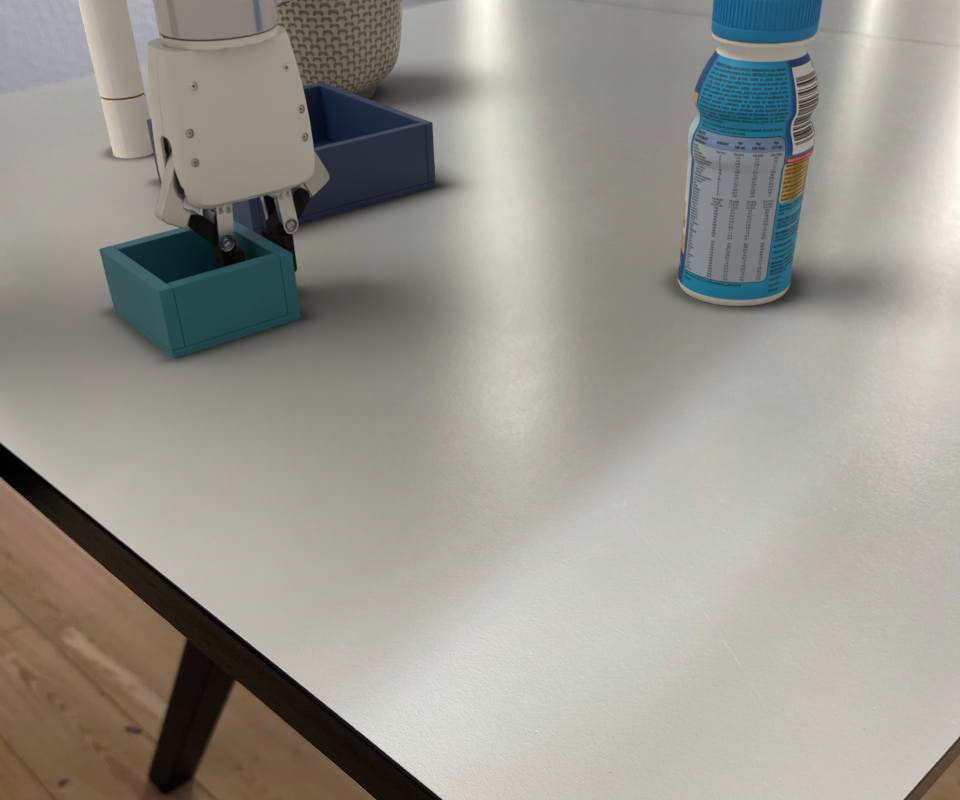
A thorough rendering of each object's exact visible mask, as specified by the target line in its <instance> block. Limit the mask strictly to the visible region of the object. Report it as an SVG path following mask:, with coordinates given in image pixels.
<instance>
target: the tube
mask: <svg viewBox="0 0 960 800" xmlns="http://www.w3.org/2000/svg"><path fill="white" fill-rule="evenodd" d="M77 2H78V7H79V11H80V15H81V19H82V24H83V27H84V32H85V37H86V42H87V45H88V50H89V55H90V59H91V65H92V67H93V72H94V76H95V81H96V85H97V89H98V94H99V97H100V102H101V103H100V104H101V107H102V111H103V115H104V119H105V124H106V129H107V133H108V137H109V142H110V147H111V150H112V155H113V157H116V158H119V159H138V158H139V159H140V158H143V157H148V156H151V155H154V154H153V149H152V144H151V139H150V134H149V129H148V125H147V120H148V119H151V113H150V108H149V104H148V100H147V94H146V91H145V85H144V80H143V75H142V71H141V65H140V61H139V60H140V59H139V56H138V55H139V54H138V51H137V45H136V40H135V36H134V31H133V26H132V22H131V17H130V12H129V7H128V2H127V0H77Z"/></svg>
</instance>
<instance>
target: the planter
mask: <svg viewBox="0 0 960 800" xmlns="http://www.w3.org/2000/svg"><path fill="white" fill-rule="evenodd" d="M403 1H404V0H290V1H289V3H283V4H281V5H280V6H279V7H277V8H278V16H279V19H278V20H277V25H279V26H281V27H283V28H285V29H286V32H287V35H288V38H289V40H290V43H291V46H292V50H293V53H294V56H295V59H296V63H297V66H298V70H299V74H300V77H301V81H302V85H303V87H304V86H309V85H314V84H319V83H325V84H328V85H331V86H333V87H336V88H339V89H342V90H344V91H347V92H350V93H353V94H355V95H358V96H361V97H364V98H366V99H369V100H371V98H372V97H374V96H375V93H376V89H377V86H378V84H380V83H381V82H382V81H383V80H385V79H386V78H387V77H388V76H389V75H390V73H391V72H392V71H393V69H394V68H395V66H396V65H397V62H398V58H399V55H400V49H401V41H402V27H403V4H404V3H403Z"/></svg>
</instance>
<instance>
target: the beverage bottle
mask: <svg viewBox="0 0 960 800" xmlns="http://www.w3.org/2000/svg"><path fill="white" fill-rule="evenodd" d="M712 2H713V3H712V11H711V12H712V13H711V25H710V26H711V27H710V28H711V30H710V31H711V36H712V38H713V39H714V41H716V42H718V43H719V45H718V46H717V47H716V49H715V50H714V51H713V53H712V55H711V56H710V57H709V59H708V60H707V62H706V64H705V65H704V67H703V69H702V71H701V72H700V74H699V77H698V79H697V81H696V84H695V88H694V91H693V97H692V99H693V103H694V106H695V108H696V115H695V117H694V119H693V121H692V123H691V124H690V126H689V130H688V135H687V150H688V158H687V169H686V170H687V171H686V183H685V195H684V208H683V220H682V233H681V244H680V255H679V257H680V258H679V264H678V271H677V283H678V285H679V287H680V289H681V290H682V291H683V292H684V293H685V294H686V295H688V296H689V297H691V298H693V299H695V300H698V301H700V302H704V303H708V304H712V305H718V306H725V307H726V306H727V307H752V306H753V307H754V306H760V305H764V304H769V303H771V302H774V301H776V300H778V299H780V298H782V297H783V296H784V295H785V294H786V293H787V291H788V290H789V288H790V285H791V280H792V274H793V263H794V256H795V249H796V242H797V237H798V230H799V225H800V218H801V212H802V204H803V200H804V193H805V186H806V181H807V175H808V168H809V163H810V158H811V156H812V154H813V152H814V147H815V142H816V141H815V140H816V131H815V127H814V124H813V121H812V115H813V112H814V111H815V109H816V108H817V107H818V105H819V102H820V85H819V80H818V76H817V72H816V69H815V66H814V63H813V60H812V59H811V56H810V54H809V52H808V50H807V48H806V44H809V43H811V42H812V41H814V39H815V38H816V34H817V33H818V30H819V25H820V19H821V13H822V7H823V0H713V1H712Z"/></svg>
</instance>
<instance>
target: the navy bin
mask: <svg viewBox="0 0 960 800" xmlns="http://www.w3.org/2000/svg"><path fill="white" fill-rule="evenodd" d="M303 90H304V94H305V99H306V104H307V109H308V114H309V120H310V126H311V132H312V139H313V147H314V151H315V152H316V154H317V155H318V157H319V158H320V160H321V162H322V163H323V165H324V166H325V168H326V170H327V171H328V173H329V181H328V182H327V183H326V184H325V185H324V186H323V187H322V188H321V189H320V190H319V191H318V192H317V193H316V194H315V195H314V196H311V197H310V200H309V203H308V204H307V206H306V208H305V209H304V211H303V213H302V214H301V216H300V218H299V219H298V225H299V226H300V225H303V224H307V223H311V222H314V221H318V220H323V219H326V218H329V217H332V216H336V215H339V214H343V213H346V212H351V211H354V210H357V209H362V208H365V207H369V206H372V205H377V204H380V203H383V202H387V201H390V200H395V199H398V198H402V197H405V196H410V195H413V194H416V193H420V192H423V191H427V190H431V189H434V188H437V185H436V166H435V163H436V162H435V147H434V146H435V143H434V127H433V122H432V121H430V120H426V119H424V118H422V117H419V116H417V115H414V114H410V113H407V112H406V111H405V112H404V111H402V110H398V109H397V108H394V107H392V106H389V105H386V104H382V103H381V102H378V101H374V100H372V99H366V98H364V97H361V96H358V95H355V94H353V93H350V92H347V91H344V90H342V89H339V88H336V87H333V86H331V85H328V84H325V83H319V84H314V85H309V86H304V87H303ZM147 125H148V129H149V134H150V139H151V144H152V149H153V154H152V155H153V158H154V162H155V167H156V173H157V178H158V182H159V184H160V185H161V184H162V182H161V178H160V174H159V169H158V164H157V157H156V151H155V144H154V137H153V129H152V120H151V118H150V119H148V120H147ZM166 159H167V158H166ZM184 199H187V198H186V195H185V196H184ZM232 209H233V220H234V221H236V222H238V223H239V224H241V225H243V226H245V227H246V228H248V229H250V230H252V231H253V232H255V233H257V234H259V235H261V230H262V226H264V225H266V218H265V213H264V209H263V205H262V201H261V197H257V198H253V199H249V200H245V201H241V202H237V203H233V204H232Z"/></svg>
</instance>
